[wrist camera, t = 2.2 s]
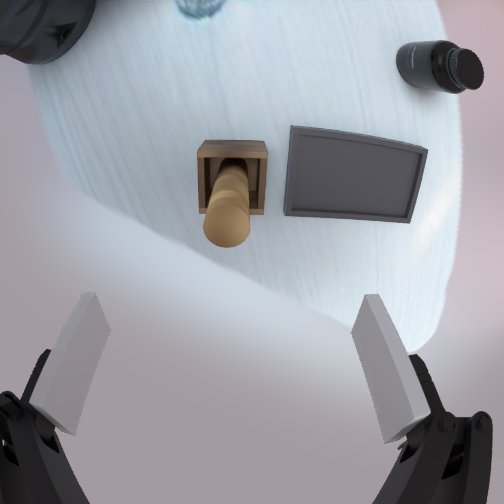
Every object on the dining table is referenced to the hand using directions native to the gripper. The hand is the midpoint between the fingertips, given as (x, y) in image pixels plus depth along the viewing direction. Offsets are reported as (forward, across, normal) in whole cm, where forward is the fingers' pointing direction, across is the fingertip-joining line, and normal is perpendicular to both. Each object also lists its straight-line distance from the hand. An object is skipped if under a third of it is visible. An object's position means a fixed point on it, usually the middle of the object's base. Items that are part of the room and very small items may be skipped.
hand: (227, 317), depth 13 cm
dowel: (+26, -1, -1) cm, 26 cm away
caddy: (+27, 0, -1) cm, 27 cm away
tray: (+27, +16, -1) cm, 31 cm away
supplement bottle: (+27, +24, +17) cm, 40 cm away
